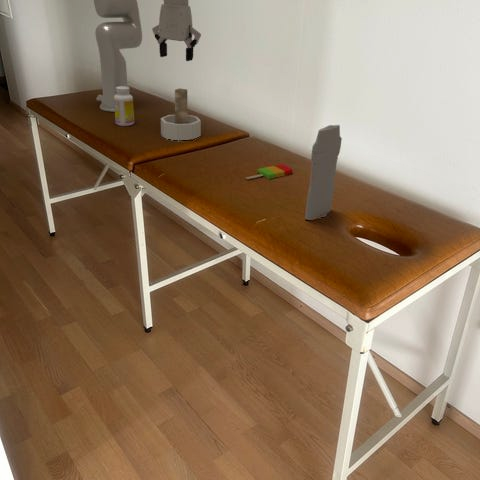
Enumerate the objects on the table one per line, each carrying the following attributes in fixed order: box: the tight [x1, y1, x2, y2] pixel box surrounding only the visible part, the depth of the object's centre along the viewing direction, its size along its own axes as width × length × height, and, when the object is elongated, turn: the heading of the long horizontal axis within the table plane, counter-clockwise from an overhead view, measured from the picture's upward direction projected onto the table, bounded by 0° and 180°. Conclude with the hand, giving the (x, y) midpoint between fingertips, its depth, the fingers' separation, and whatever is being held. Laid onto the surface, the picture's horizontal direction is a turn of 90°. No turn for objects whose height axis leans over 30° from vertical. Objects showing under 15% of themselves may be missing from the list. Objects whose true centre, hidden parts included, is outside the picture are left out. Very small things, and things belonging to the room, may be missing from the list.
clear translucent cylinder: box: [174, 88, 188, 124], centre depth 173 cm, size 3×3×14 cm
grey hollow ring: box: [160, 114, 202, 142], centre depth 175 cm, size 13×13×6 cm
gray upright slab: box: [304, 124, 343, 220], centre depth 119 cm, size 11×4×22 cm, turn 136°
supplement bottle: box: [114, 86, 135, 127], centre depth 183 cm, size 7×7×13 cm
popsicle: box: [245, 163, 293, 180], centre depth 146 cm, size 6×15×2 cm, turn 125°
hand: (176, 58), depth 166 cm, fingers open, 9 cm apart
